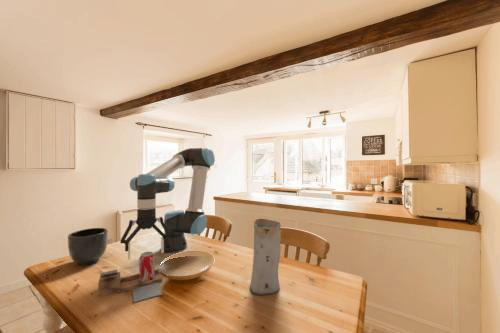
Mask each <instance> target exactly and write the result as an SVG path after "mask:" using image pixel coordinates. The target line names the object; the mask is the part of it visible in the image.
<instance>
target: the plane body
mask: <svg viewBox="0 0 500 333" xmlns="http://www.w3.org/2000/svg"><path fill="white" fill-rule="evenodd" d="M118 272H119V274H118V275H114V276H110V277H105V278H100V277H99V278H98V282H97V283H98V284H97V285H98V287H97V288H98V289H97V290H98V291H97V292H98V293H97V294H98V297H101V296H106V295H109V294H112V293H116V292H120V293H123V292H128V291H133V289H135V288H138V287H142V286H146V285H150V284H154V283H162V280H163V279H162V277H159V278H154V279H153V280H150V281H146V282H139V283H134V284H131V285H126V286H122V287H121V283H122V282H126V281H131V280H135V279H140V276H139V273H136V274H132V275H128V276H123V277H121V271H118ZM159 273H160V270H159V269H155V275H156V274H159Z"/></svg>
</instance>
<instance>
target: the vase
mask: <svg viewBox="0 0 500 333" xmlns="http://www.w3.org/2000/svg"><path fill="white" fill-rule="evenodd" d="M281 228H282V227H281V222H280V221H276V220H272V219H267V218H258V219H256V220H254V222H253V258H252V260H253V261H252V270H251V271H252V272H251V278H250V285H249V290H250V291H251V292H252V295H257V296H265V295H273V294H276V293H278V292H280V288H281V287H280V280H279V266H280V265H279V264H280V259H281V258H280V256H281V236H282V234H281Z"/></svg>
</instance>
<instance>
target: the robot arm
mask: <svg viewBox="0 0 500 333" xmlns="http://www.w3.org/2000/svg"><path fill="white" fill-rule="evenodd" d="M215 161H216V160H215V154H214V151H213V150H212V149H211V148H209V147H196V148H193V147H191V148H185V149H183V150H181V151H179V152H177V153H176V154H173V156H172V158H170V159H169V160H167V161H165V162H164V163H162V164H161V165H158V166H156V167H155V168H154V169H152V170H150V171H149V172H147V173H140V174H138V176H135V177H132V178H131V180H130V181H129V188H130V190H131V191H134V192H136V193H137V199H136V200H137V201H136V202H137V211H136V212H137V213H136V216H137V218H136V220H135V219H134V220H132V219H130V220H129V222H128V226H127V227H126V230H125V231H124V233H123V235H122V237H121V239H120V244H124V249H125V250H124V251H125V252H127V257H128V258H127V259H128V260H131V241H132V240H133V239H134V237H135V236H136V235H137V234H138V232H140V231H141V230H146V229H147V230H149V229H152V228H153V229H154V230H155V232H157V233H158V234H159V235H160V236H161V237H160V238H161V239H160V252H161V253H162V254H164V253H177V252H181V251H184V250H186V249H187V247H188V242H187V239H186V236H185V234H189V235H201V234H202V233H204V231H205V229H206V227H207V223H208V218H207V216H206V215H205V211H204V209H203V207H204V206H203V204H204V199H205V198H204V197H205V192H206V184H207V174H208V171H210V170H211V167H213V166H214V165H215ZM190 166H191V168H192V170H193V173H192V177H191V179H192V180H191V187H190V192H189V193H190V194H189V200H188V206H187V208H186V209H185V210H183V209H177V210H172V211H169V212H166V213H165V214H164V218H163V216H159V217H157V216H156V214H157V213H156V211H157V210H156V206H157V203H156V200H157V199H156V195H157V194H162V193H168V192H169V193H170V192H172V191H173V190H174V188H175V181H174V179H173V178H172V177H170V175H171V174H173V173H175V172H176V171H178V170H179V169H183V168H185V167H190ZM157 222H158V223H160V225H161V227H162V228H163V230H164V232H163V231H162V230H161V229H160V228H159V227H158V226H157V225H156V223H157ZM135 224H136V225H137V226H136V227H135V229H134V230H133V231H132V232H131V234H130V231H131V229H132V227H133V226H134V225H135ZM128 235H129V236H128ZM127 236H128V237H127Z"/></svg>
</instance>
